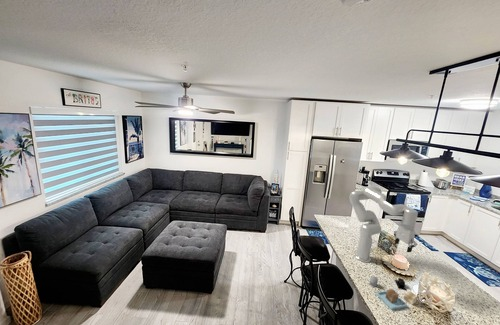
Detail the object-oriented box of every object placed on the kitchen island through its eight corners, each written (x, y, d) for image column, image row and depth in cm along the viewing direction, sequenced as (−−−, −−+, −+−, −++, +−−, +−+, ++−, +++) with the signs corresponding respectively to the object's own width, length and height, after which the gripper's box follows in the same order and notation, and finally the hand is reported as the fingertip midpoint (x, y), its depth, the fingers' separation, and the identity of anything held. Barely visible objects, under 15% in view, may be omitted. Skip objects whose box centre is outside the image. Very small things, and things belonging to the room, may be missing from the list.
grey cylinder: (368, 282, 151) (369, 276, 150) (373, 281, 152) (374, 276, 151) (372, 287, 147) (374, 281, 146) (378, 286, 148) (379, 280, 147)
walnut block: (385, 297, 138) (387, 289, 137) (390, 296, 139) (392, 288, 138) (391, 303, 134) (393, 295, 132) (396, 302, 135) (398, 294, 133)
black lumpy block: (392, 278, 158) (393, 273, 157) (403, 281, 155) (405, 276, 154) (397, 290, 146) (398, 284, 145) (409, 293, 144) (411, 288, 143)
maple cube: (403, 299, 138) (404, 292, 137) (407, 296, 141) (408, 290, 140) (411, 305, 134) (413, 298, 133) (415, 302, 136) (417, 296, 135)
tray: (376, 294, 141) (376, 292, 140) (390, 292, 143) (391, 290, 143) (391, 310, 129) (391, 307, 129) (406, 307, 132) (407, 305, 132)
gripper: (392, 220, 152) (387, 241, 155) (415, 232, 135) (409, 255, 139) (400, 219, 154) (396, 240, 157) (424, 232, 137) (418, 255, 141)
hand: (402, 247), depth 148 cm, fingers open, 9 cm apart
